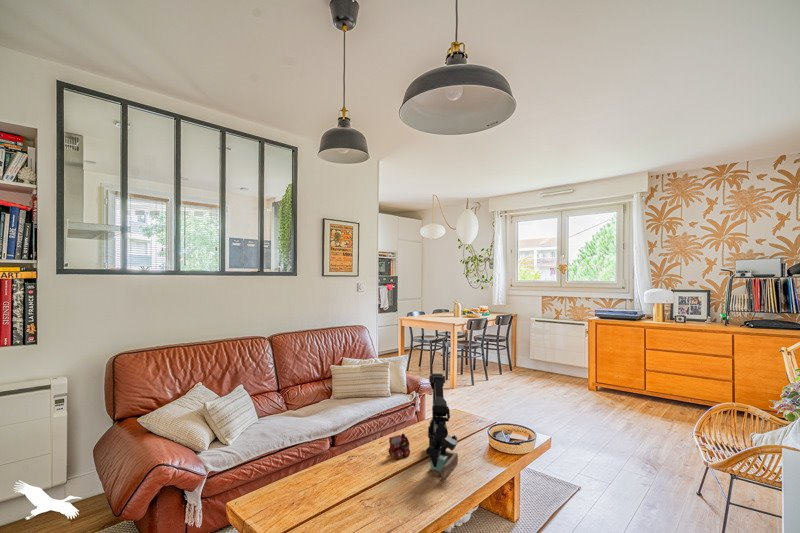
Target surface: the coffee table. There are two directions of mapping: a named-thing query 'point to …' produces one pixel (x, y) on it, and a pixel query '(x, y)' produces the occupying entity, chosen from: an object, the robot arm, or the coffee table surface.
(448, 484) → the coffee table surface
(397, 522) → the coffee table surface
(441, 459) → the teal and white block
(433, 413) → the robot arm
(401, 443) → the toy fire truck
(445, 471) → the l-shaped wooden block
